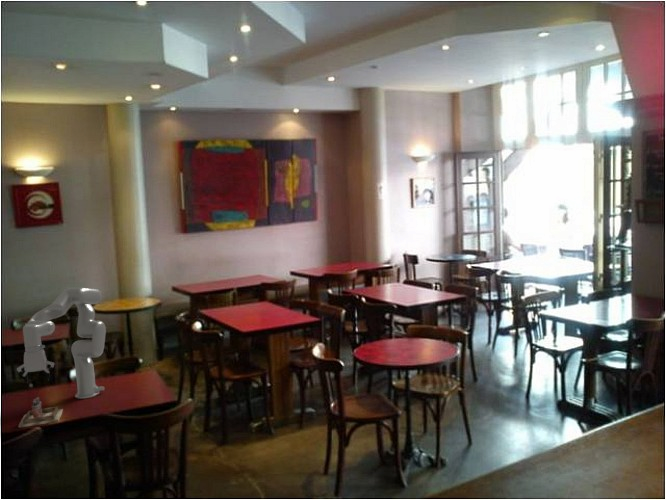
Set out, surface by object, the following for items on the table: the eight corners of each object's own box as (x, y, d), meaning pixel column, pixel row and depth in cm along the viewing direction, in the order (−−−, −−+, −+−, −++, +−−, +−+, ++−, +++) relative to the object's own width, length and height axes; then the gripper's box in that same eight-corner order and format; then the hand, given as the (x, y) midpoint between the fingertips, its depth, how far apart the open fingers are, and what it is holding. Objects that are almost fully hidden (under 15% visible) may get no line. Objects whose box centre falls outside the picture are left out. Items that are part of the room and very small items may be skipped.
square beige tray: (62, 411, 318) (62, 405, 318) (58, 421, 303) (57, 415, 302) (25, 416, 313) (24, 410, 313) (18, 427, 298) (18, 421, 297)
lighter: (38, 420, 302) (36, 401, 301) (31, 421, 302) (29, 402, 301) (44, 415, 310) (42, 396, 309) (37, 415, 310) (35, 396, 309)
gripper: (53, 344, 310) (57, 377, 312) (16, 349, 306) (20, 382, 307) (51, 348, 303) (55, 381, 305) (13, 353, 298) (17, 386, 300)
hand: (37, 381), depth 306 cm, fingers open, 9 cm apart
